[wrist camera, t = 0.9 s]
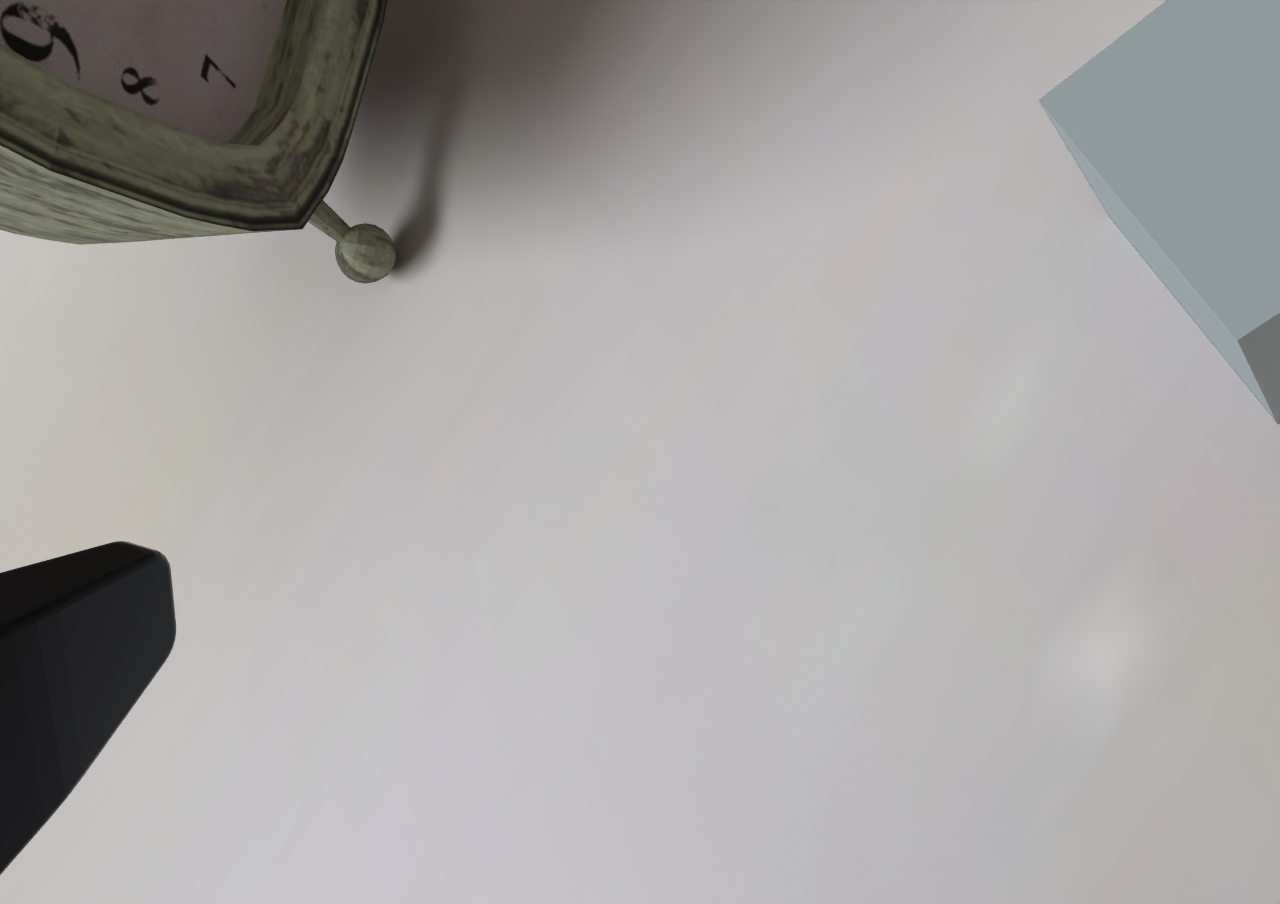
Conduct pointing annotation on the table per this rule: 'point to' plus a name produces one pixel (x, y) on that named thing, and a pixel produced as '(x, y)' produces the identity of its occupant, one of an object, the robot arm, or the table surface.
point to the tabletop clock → (183, 119)
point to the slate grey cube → (1193, 165)
